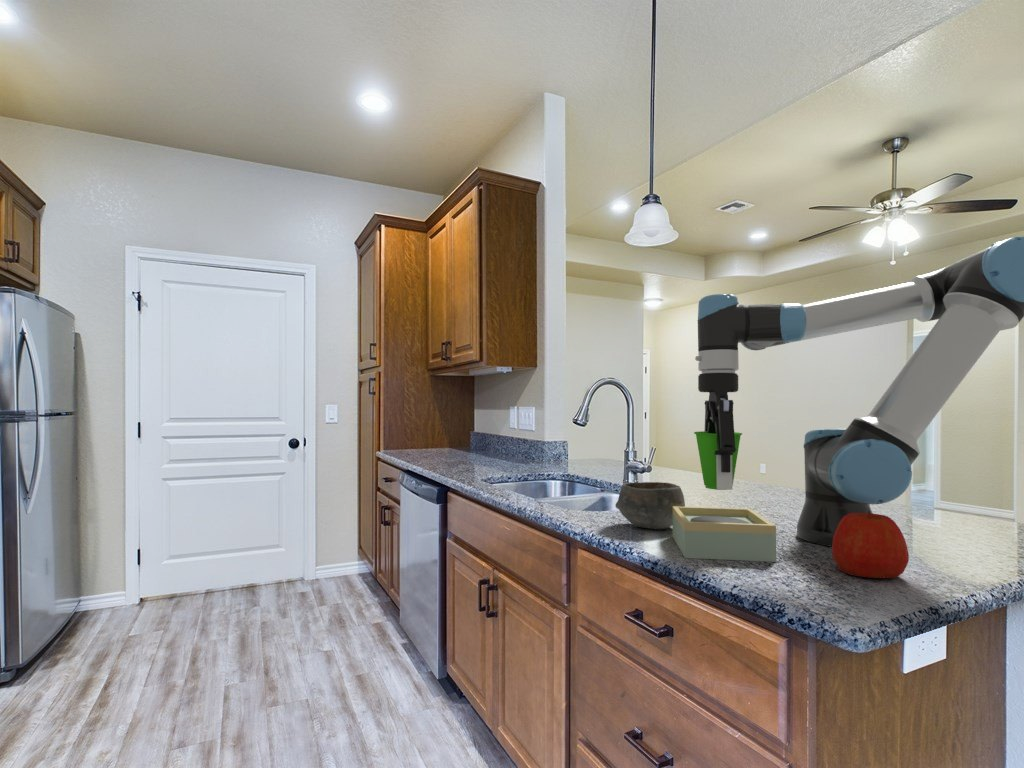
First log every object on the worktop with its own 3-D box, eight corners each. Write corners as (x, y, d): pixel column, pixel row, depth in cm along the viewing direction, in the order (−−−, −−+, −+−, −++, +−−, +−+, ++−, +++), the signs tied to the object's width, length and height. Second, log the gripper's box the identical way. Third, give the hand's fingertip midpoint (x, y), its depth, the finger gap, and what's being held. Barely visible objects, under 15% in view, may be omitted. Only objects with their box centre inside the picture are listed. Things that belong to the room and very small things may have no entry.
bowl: (693, 535, 117) (692, 489, 117) (622, 535, 117) (622, 488, 117) (674, 521, 131) (674, 480, 131) (611, 521, 131) (611, 479, 131)
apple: (881, 589, 83) (879, 519, 83) (816, 569, 93) (815, 507, 93) (923, 580, 87) (922, 514, 88) (857, 562, 97) (856, 503, 98)
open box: (751, 539, 113) (750, 508, 113) (776, 561, 97) (775, 525, 97) (672, 536, 115) (672, 506, 116) (684, 557, 99) (684, 522, 100)
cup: (747, 492, 101) (747, 434, 102) (697, 490, 103) (697, 433, 104) (737, 485, 110) (737, 431, 111) (691, 483, 112) (691, 431, 112)
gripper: (689, 375, 119) (689, 477, 118) (709, 369, 97) (710, 493, 96) (724, 375, 118) (725, 478, 117) (753, 369, 96) (754, 495, 95)
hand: (718, 485), depth 107 cm, fingers closed on cup, 9 cm apart
